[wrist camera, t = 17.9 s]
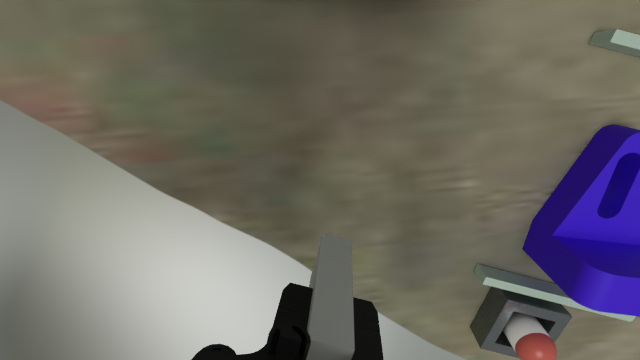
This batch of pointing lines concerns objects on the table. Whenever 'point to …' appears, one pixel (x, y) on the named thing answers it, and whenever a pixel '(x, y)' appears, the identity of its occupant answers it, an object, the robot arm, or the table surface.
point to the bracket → (595, 225)
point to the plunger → (529, 338)
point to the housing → (500, 310)
